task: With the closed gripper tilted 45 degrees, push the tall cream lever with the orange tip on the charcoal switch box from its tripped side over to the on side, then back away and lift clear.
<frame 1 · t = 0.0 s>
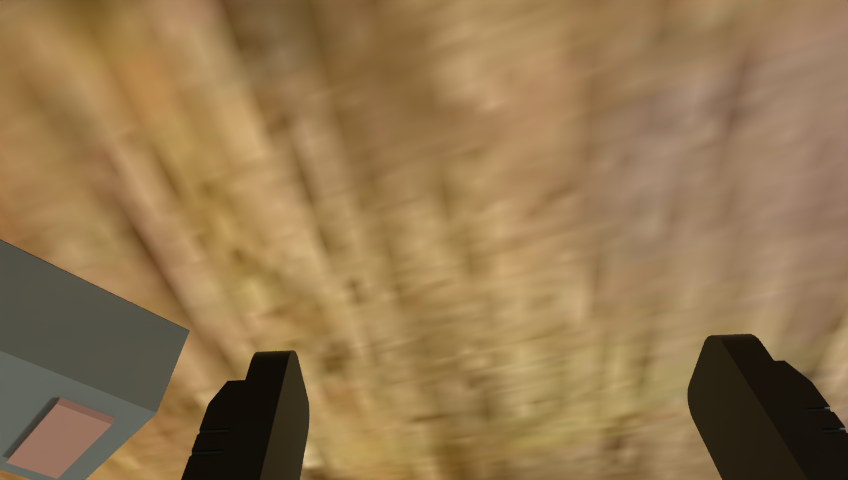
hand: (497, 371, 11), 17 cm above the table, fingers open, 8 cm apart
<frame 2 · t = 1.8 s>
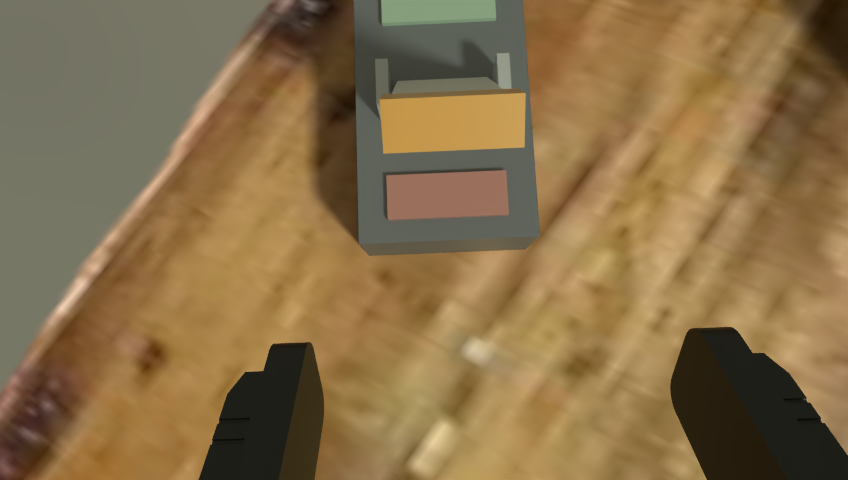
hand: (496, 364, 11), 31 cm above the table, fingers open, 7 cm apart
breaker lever: (446, 103, 31), point 13 cm above the table, hinge at 30.0°
switch box: (441, 128, 44), on the table
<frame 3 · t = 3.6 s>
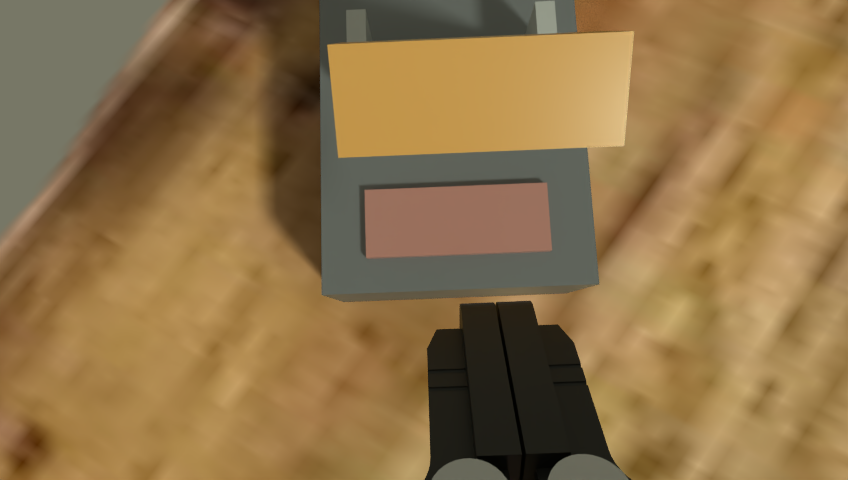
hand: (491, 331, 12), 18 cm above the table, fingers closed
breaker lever: (459, 73, 19), point 13 cm above the table, hinge at 30.0°
switch box: (446, 121, 32), on the table
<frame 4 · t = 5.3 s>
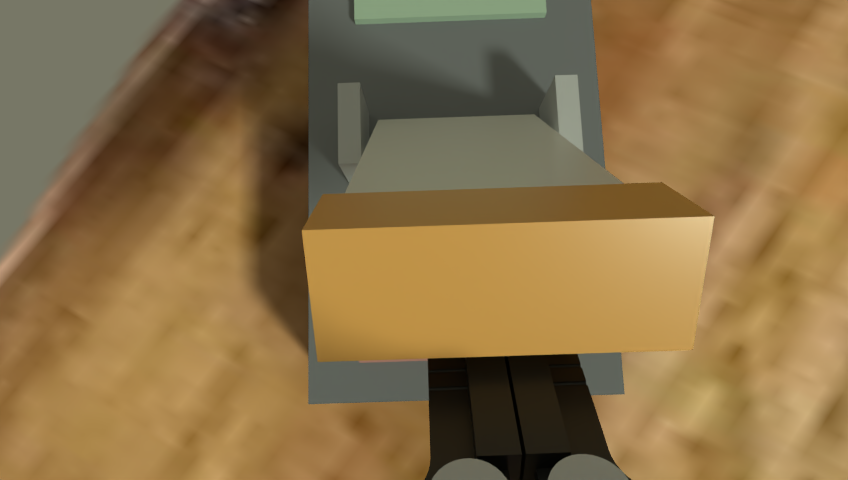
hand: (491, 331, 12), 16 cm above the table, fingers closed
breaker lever: (470, 180, 16), point 13 cm above the table, hinge at 29.9°, touching gripper
switch box: (450, 183, 29), on the table
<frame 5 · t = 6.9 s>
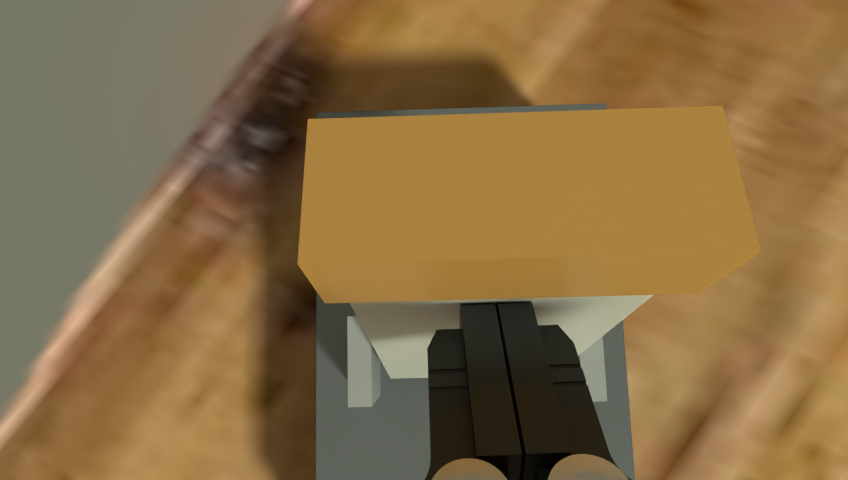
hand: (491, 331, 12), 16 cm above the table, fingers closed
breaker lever: (484, 308, 15), point 13 cm above the table, hinge at -14.0°, touching gripper
switch box: (462, 346, 28), on the table
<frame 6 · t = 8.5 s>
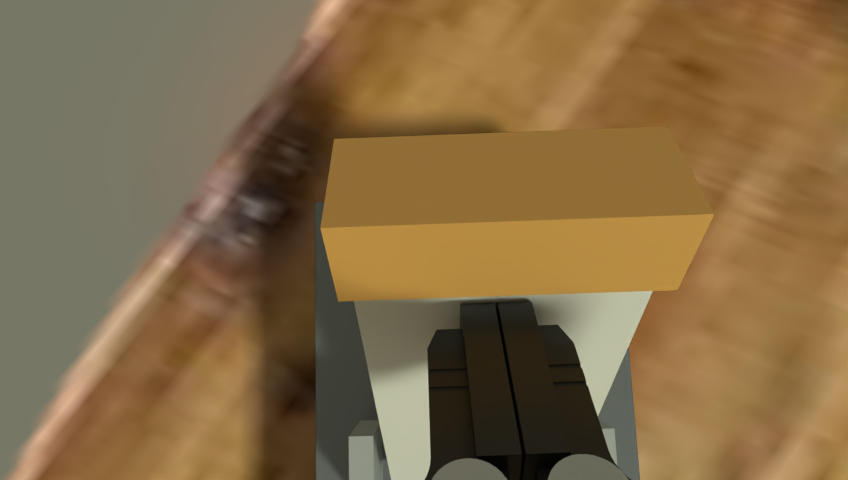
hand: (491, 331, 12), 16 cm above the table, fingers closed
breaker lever: (487, 373, 15), point 12 cm above the table, hinge at -34.5°, touching gripper
switch box: (466, 428, 27), on the table
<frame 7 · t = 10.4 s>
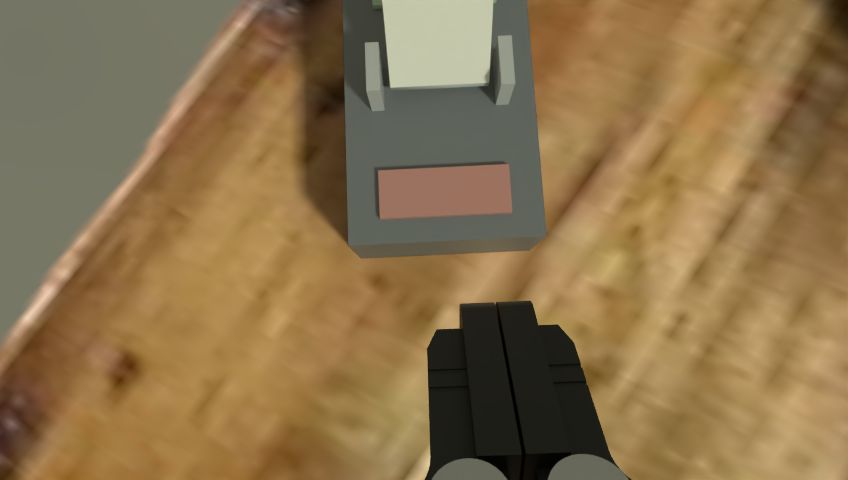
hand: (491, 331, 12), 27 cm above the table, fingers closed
switch box: (437, 120, 41), on the table
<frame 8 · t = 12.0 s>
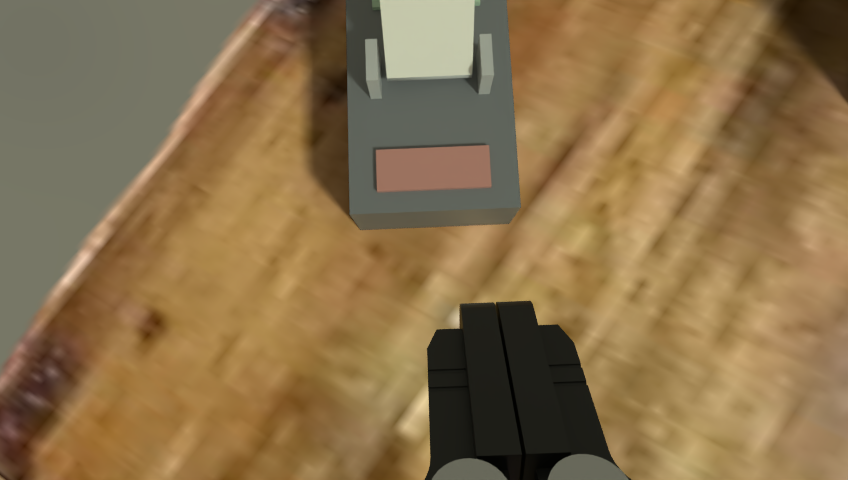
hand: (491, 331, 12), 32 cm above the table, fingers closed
switch box: (429, 109, 46), on the table
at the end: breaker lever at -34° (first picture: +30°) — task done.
